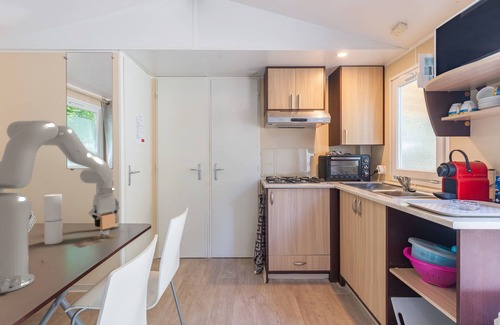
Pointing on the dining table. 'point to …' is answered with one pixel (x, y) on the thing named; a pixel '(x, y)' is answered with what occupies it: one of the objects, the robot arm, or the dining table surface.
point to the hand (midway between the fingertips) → (104, 224)
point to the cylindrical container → (53, 218)
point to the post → (104, 233)
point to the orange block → (106, 221)
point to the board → (92, 241)
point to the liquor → (116, 217)
